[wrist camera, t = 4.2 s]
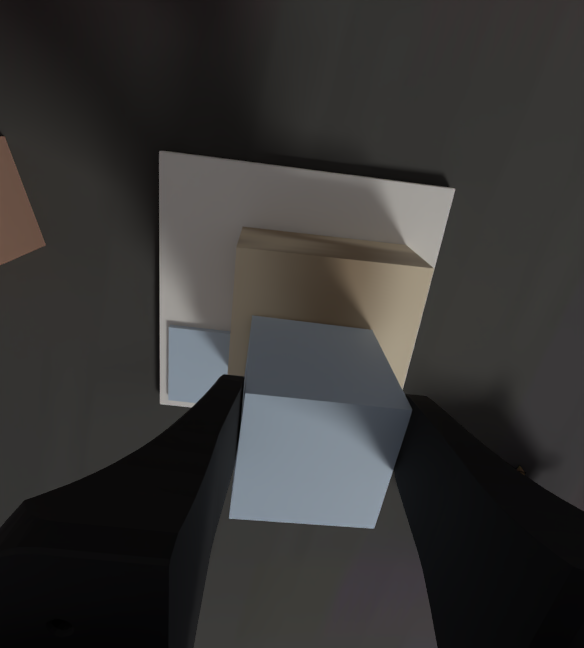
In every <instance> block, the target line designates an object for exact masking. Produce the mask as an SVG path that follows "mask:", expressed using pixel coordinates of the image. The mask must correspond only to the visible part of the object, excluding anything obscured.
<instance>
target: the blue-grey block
mask: <svg viewBox="0 0 584 648" xmlns="http://www.w3.org/2000/svg"><path fill="white" fill-rule="evenodd" d="M411 413H412V408H411V406H410V404H409V402H408V400H407V398H406V396H405V394H404V392H403V390H402V388H401V386H400V384H399V382H398V380H397V378H396V376H395V374H394V372H393V370H392V368H391V366H390V364H389V362H388V360H387V358H386V356H385V354H384V352H383V350H382V348H381V346H380V344H379V342H378V340H377V338H376V336H375V334H374V332H373V330H369V329H361V328H353V327H345V326H336V325H328V324H320V323H312V322H303V321H295V320H287V319H278V318H270V317H262V316H254V315H252V320H251V328H250V336H249V344H248V352H247V360H246V368H245V379H244V390H243V402H242V413H241V424H240V432H239V441H238V447H237V453H236V459H235V465H234V474H233V484H232V494H231V504H230V513H229V519H243V520H258V521H272V522H286V523H301V524H315V525H329V526H344V527H358V528H372V529H374V527H375V524H376V521H377V518H378V515H379V512H380V509H381V506H382V503H383V500H384V497H385V494H386V491H387V487H388V484H389V481H390V478H391V475H392V472H393V469H394V466H395V463H396V460H397V457H398V454H399V451H400V448H401V445H402V441H403V438H404V435H405V432H406V429H407V426H408V423H409V420H410V416H411Z"/></svg>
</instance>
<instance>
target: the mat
mask: <svg viewBox="0 0 584 648" xmlns="http://www.w3.org/2000/svg"><path fill="white" fill-rule="evenodd" d="M454 192H455V189H454V188H451V187H443V186H435V185H428V184H420V183H412V182H404V181H397V180H389V179H381V178H373V177H365V176H358V175H350V174H342V173H334V172H326V171H319V170H311V169H303V168H295V167H287V166H280V165H272V164H264V163H256V162H248V161H241V160H233V159H225V158H217V157H209V156H202V155H194V154H186V153H178V152H170V151H159V273H160V404H164V405H174V406H183V407H193V406H194V405H195V404H196V403H197V402H198V401H199V400H200V399H201V398H202V397H203V396H204V395H205V393H206V392H207V391H208V390H209V389H210V388H211V387H212V386H213V385H214V383H215V382H216V381H217V380H218V378H219V377H220V376H222V375H223V374H228V360H229V345H230V331H231V317H232V302H233V288H234V274H235V259H236V247H237V243H238V240H239V237H240V234H241V231H242V227H251V228H260V229H269V230H278V231H287V232H296V233H304V234H313V235H322V236H331V237H340V238H349V239H358V240H367V241H376V242H385V243H394V244H403V245H407V246H408V247H409V248H410V249H412V250H413V251H414V252H415V253H416V254H418V255H419V256H420V257H421V258H422V259H424V260H425V261H426V262H427V263H428V264H429V265H431V266H432V267H433V268H435V265H436V261H437V257H438V253H439V249H440V245H441V242H442V238H443V234H444V230H445V226H446V223H447V219H448V215H449V211H450V207H451V204H452V200H453V196H454ZM433 272H434V271H433ZM432 276H433V275H432ZM431 280H432V279H431ZM430 284H431V283H430ZM428 291H429V290H428ZM427 295H428V294H427ZM426 299H427V298H426ZM425 303H426V302H425ZM423 310H424V309H423ZM422 314H423V313H422ZM421 318H422V317H421ZM420 322H421V321H420ZM419 326H420V325H419ZM418 329H419V328H418ZM417 333H418V332H417ZM416 337H417V336H416ZM415 341H416V340H415ZM414 345H415V344H414ZM413 348H414V347H413ZM412 352H413V351H412ZM411 356H412V355H411ZM410 360H411V359H410ZM409 364H410V363H409ZM408 367H409V366H408ZM407 371H408V370H407ZM406 375H407V374H406ZM405 379H406V378H405ZM404 383H405V382H404ZM403 387H404V386H403ZM402 390H403V389H402Z"/></svg>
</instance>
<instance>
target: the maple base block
mask: <svg viewBox="0 0 584 648" xmlns="http://www.w3.org/2000/svg"><path fill="white" fill-rule="evenodd" d="M433 271H434V268H433V267H432V266H431V265H429V264H428V263H427V262H426V261H425V260H424V259H422V258H421V257H420V256H419V255H418V254H416V253H415V252H414V251H413V250H412V249H410V248H409V247H408V246H407V245H403V244H394V243H385V242H376V241H367V240H358V239H349V238H340V237H331V236H322V235H313V234H304V233H296V232H287V231H278V230H269V229H260V228H251V227H242V231H241V234H240V237H239V240H238V243H237V247H236V259H235V274H234V288H233V302H232V317H231V331H230V345H229V360H228V374H227V375H236V376H245V368H246V360H247V352H248V344H249V336H250V328H251V320H252V315H254V316H262V317H270V318H278V319H287V320H295V321H303V322H312V323H320V324H328V325H336V326H345V327H353V328H361V329H369V330H373V332H374V334H375V336H376V338H377V340H378V342H379V344H380V346H381V348H382V350H383V352H384V354H385V356H386V358H387V360H388V362H389V364H390V366H391V368H392V370H393V372H394V374H395V376H396V378H397V380H398V382H399V384H400V386H401V388H402V389H403V386H404V382H405V378H406V374H407V370H408V366H409V363H410V359H411V355H412V351H413V347H414V344H415V340H416V336H417V332H418V328H419V325H420V321H421V317H422V313H423V309H424V306H425V302H426V298H427V294H428V290H429V287H430V283H431V279H432V275H433Z"/></svg>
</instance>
